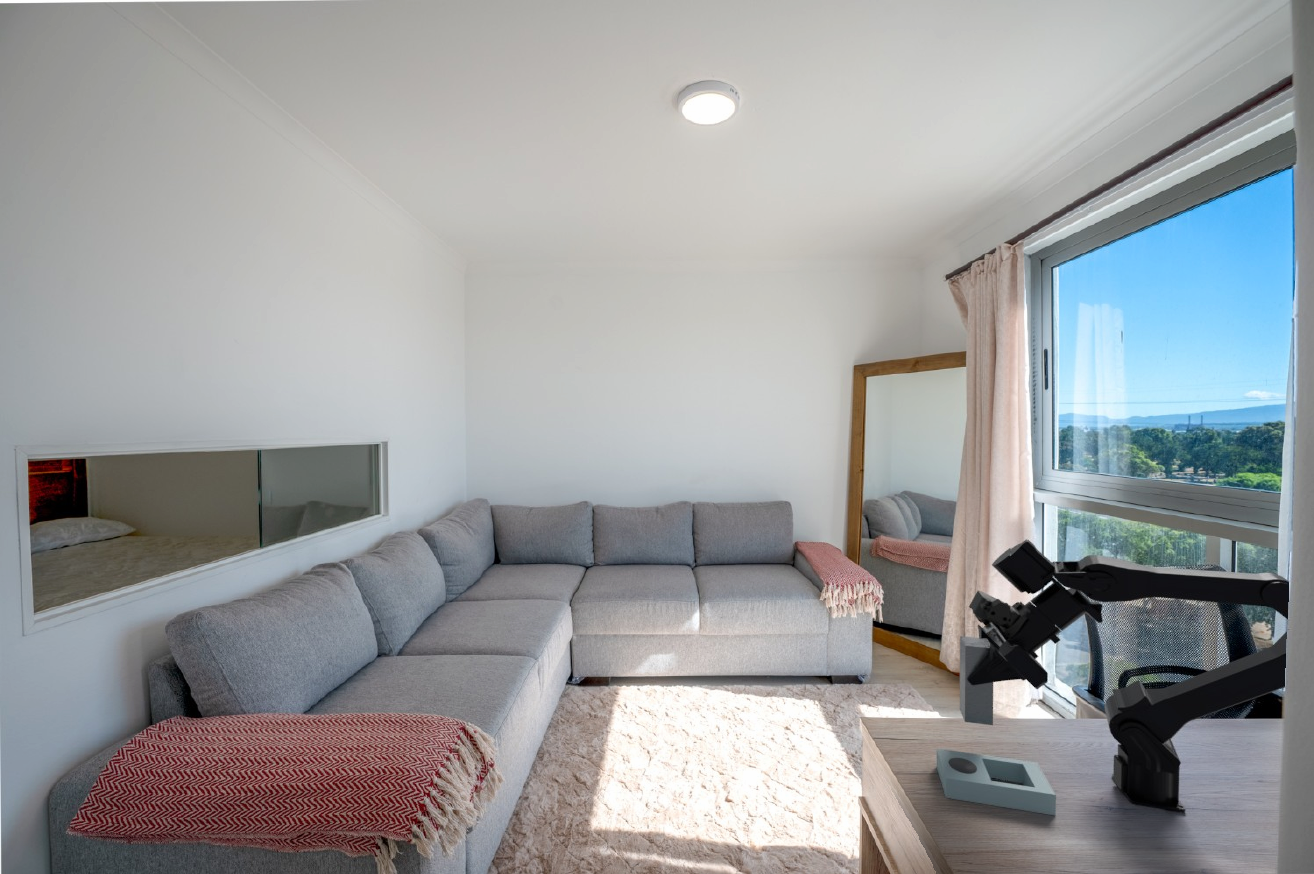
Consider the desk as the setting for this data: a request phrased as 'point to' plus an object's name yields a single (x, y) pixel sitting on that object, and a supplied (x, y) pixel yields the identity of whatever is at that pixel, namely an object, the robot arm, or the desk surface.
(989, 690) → the square bit
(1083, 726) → the desk surface
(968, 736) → the desk surface
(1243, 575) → the robot arm
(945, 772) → the socket block
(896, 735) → the desk surface
